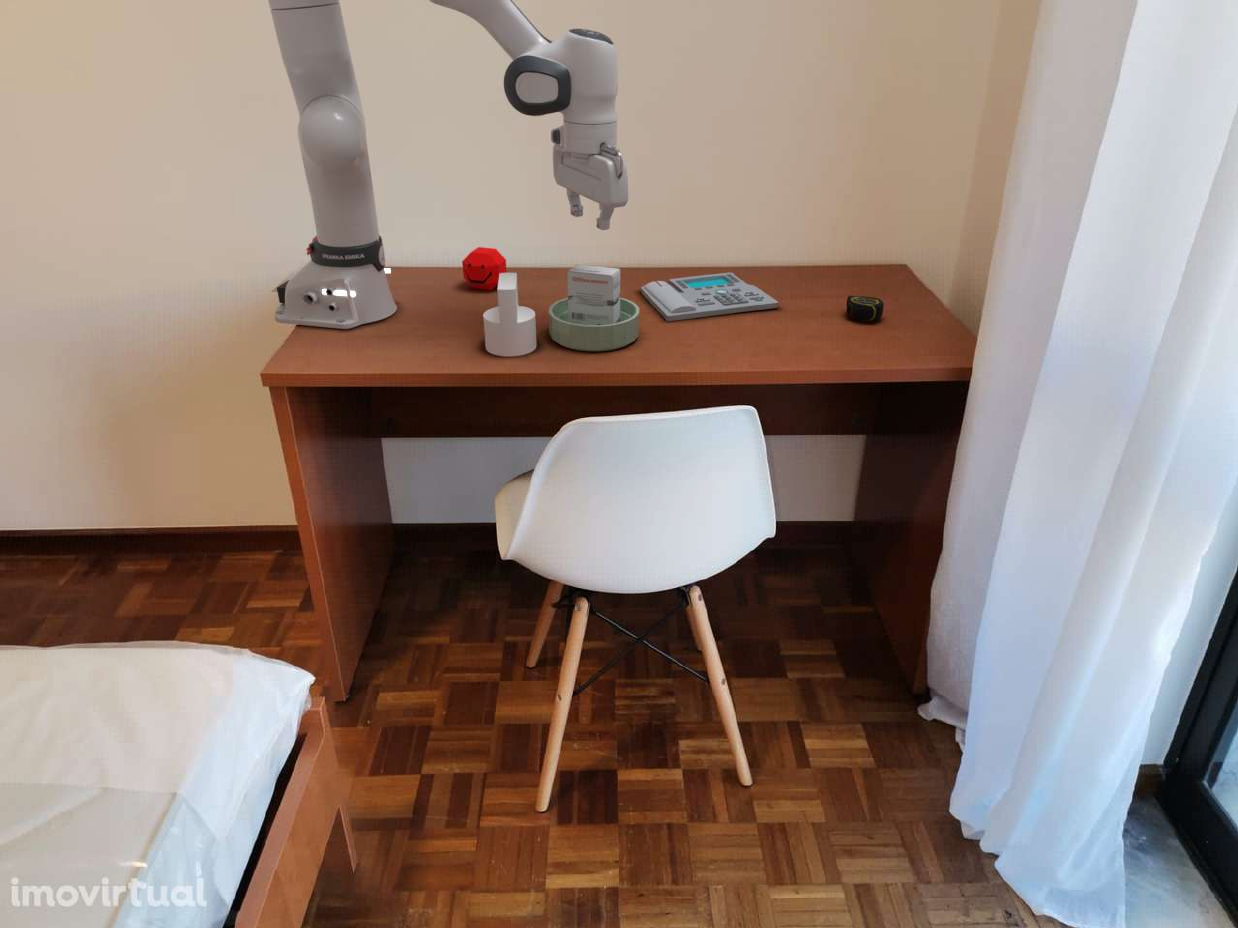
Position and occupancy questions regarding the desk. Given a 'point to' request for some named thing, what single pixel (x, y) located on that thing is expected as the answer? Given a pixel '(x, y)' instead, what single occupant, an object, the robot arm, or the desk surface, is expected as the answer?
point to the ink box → (593, 295)
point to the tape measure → (864, 308)
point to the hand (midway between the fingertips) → (589, 222)
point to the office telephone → (705, 296)
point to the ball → (483, 268)
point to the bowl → (594, 329)
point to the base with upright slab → (509, 322)
